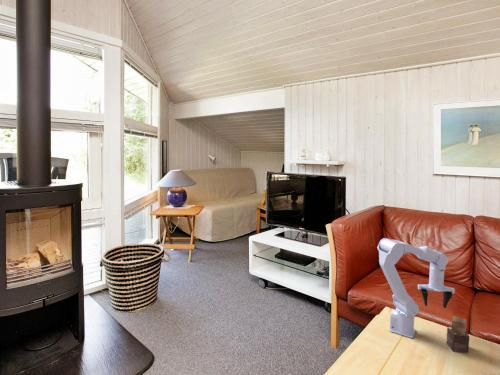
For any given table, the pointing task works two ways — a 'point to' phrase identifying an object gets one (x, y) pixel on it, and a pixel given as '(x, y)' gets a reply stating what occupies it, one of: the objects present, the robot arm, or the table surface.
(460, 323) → the walnut block
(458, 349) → the box
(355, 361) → the table surface
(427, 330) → the table surface
